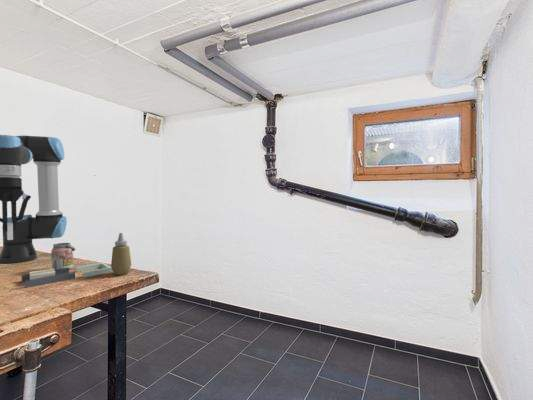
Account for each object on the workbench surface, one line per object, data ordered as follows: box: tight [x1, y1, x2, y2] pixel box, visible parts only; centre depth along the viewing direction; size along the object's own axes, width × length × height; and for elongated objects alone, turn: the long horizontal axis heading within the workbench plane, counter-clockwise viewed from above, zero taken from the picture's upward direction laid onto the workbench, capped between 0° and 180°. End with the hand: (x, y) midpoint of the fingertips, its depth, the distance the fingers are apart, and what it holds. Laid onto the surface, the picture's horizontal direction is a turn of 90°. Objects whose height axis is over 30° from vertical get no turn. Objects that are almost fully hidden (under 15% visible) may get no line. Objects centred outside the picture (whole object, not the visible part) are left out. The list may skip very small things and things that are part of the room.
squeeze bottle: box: [110, 232, 132, 276], centre depth 127 cm, size 8×8×18 cm
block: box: [29, 268, 55, 280], centre depth 117 cm, size 6×8×4 cm
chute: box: [20, 268, 76, 288], centre depth 118 cm, size 11×16×2 cm
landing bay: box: [75, 262, 113, 278], centre depth 130 cm, size 12×11×2 cm
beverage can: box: [50, 242, 76, 271], centre depth 134 cm, size 9×8×12 cm
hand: (10, 239), depth 109 cm, fingers closed
